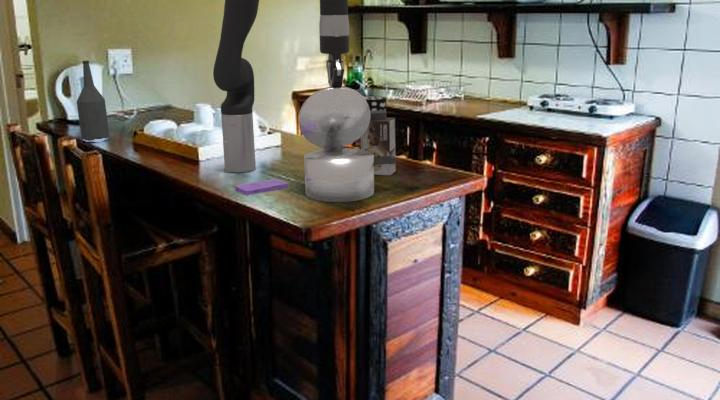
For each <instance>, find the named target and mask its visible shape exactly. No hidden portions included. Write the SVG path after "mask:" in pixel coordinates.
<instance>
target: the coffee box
mask: <svg viewBox="0 0 720 400" xmlns="http://www.w3.org/2000/svg"><path fill="white" fill-rule="evenodd" d="M361 150H366V151H369V152H372V153H373V154H374V157H381V156H395V157H396V156H397V155H396V117H387V116H386V120H376V121H370V123H369V126H368V128H367V130H366V131H365V133H364V134H363V135H362V136H361ZM396 158H397V157H396ZM396 165H397V163H396V164H381V165H374V176H375V175H377V176H391V175H393V174H394V173H395V172H396V169H397V168H396Z"/></svg>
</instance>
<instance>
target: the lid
mask: <svg viewBox="0 0 720 400" xmlns="http://www.w3.org/2000/svg"><path fill="white" fill-rule="evenodd" d="M364 97H365V96H363V94H361V93H360V92H359V91H357V90H355V89H353V88H350V87H349V86H348V87H347V86H343V85H342V86H334V87H330V86H328V87H324V88H322V89H321V88H320V89H319V90H317V91H315V92H314V93H312V94H311V95H310V96H309V97H307V99H306V100H305V101H304V102H303V104H302V105H301V107H300V109H299V112H298V125H299V130H300V132H301V135H303V138H305V140H307V141H308V143H311V145H314V146H316V147H319V148H323V149H333V148H344V147H348V146H349V145H352V144H353V143H355V142H357V141H358V140H360V137H361V136H362V135H363V134H364V133H365V131H366V130H367V128H368V126H369V123H370V121H376V120H386V117H387V115H388V113H387V109H386V110H376V111H370V109H369V106H368V103H367V101H366V100H365V98H364Z"/></svg>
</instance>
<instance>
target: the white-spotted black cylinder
mask: <svg viewBox="0 0 720 400" xmlns="http://www.w3.org/2000/svg"><path fill="white" fill-rule="evenodd" d="M363 97H364V98H365V100H366V101H367V103H368V106H369V109H370V111H376V110H386V111H387V97H385V96H363ZM359 149H360V150H361V137H360V138H359Z"/></svg>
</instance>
